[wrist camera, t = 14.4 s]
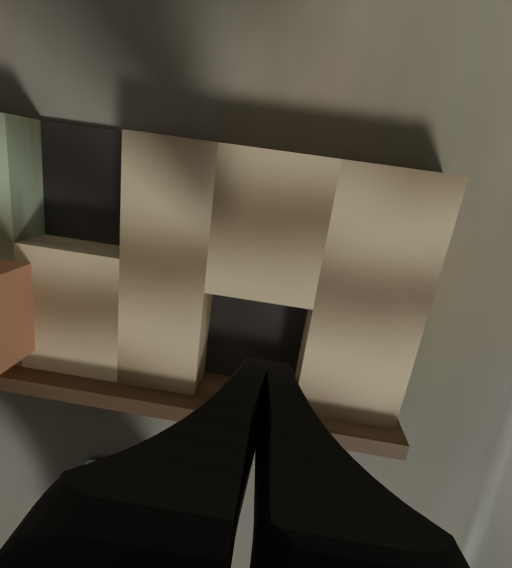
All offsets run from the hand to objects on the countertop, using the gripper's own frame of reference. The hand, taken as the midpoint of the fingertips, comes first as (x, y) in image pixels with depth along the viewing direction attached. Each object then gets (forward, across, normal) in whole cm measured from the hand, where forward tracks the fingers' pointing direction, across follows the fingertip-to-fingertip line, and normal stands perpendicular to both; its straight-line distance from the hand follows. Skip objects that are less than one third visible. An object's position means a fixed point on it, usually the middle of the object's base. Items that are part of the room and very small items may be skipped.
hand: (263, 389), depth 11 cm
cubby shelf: (+9, +5, -1) cm, 10 cm away
